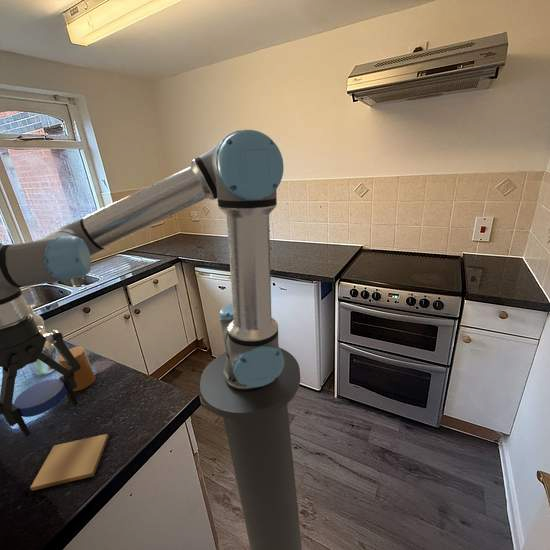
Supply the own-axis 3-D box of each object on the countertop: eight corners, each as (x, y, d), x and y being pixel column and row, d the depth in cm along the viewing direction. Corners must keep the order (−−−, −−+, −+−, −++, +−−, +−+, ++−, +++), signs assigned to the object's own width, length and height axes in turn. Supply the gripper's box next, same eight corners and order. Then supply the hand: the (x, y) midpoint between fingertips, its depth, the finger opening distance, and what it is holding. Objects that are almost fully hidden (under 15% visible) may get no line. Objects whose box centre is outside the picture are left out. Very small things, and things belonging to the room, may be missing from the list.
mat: (109, 436, 72) (107, 433, 72) (93, 476, 63) (92, 473, 63) (55, 448, 70) (53, 445, 70) (31, 491, 61) (29, 487, 61)
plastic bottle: (47, 351, 110) (26, 303, 103) (62, 352, 109) (41, 304, 102) (31, 363, 105) (7, 313, 97) (46, 364, 103) (23, 313, 96)
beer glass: (64, 365, 102) (48, 327, 96) (43, 378, 96) (24, 339, 90) (52, 361, 104) (36, 324, 99) (30, 374, 99) (11, 335, 93)
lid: (54, 412, 57) (50, 404, 56) (7, 421, 56) (3, 412, 55) (74, 383, 65) (71, 375, 64) (33, 390, 64) (29, 382, 63)
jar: (99, 372, 96) (88, 344, 92) (90, 388, 89) (78, 358, 85) (75, 377, 95) (63, 349, 91) (64, 393, 88) (51, 363, 84)
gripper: (60, 294, 64) (93, 379, 72) (-83, 346, 48) (-20, 448, 56) (76, 301, 60) (109, 390, 68) (-75, 360, 44) (-8, 467, 52)
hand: (51, 416), depth 62 cm, fingers closed on lid, 8 cm apart
